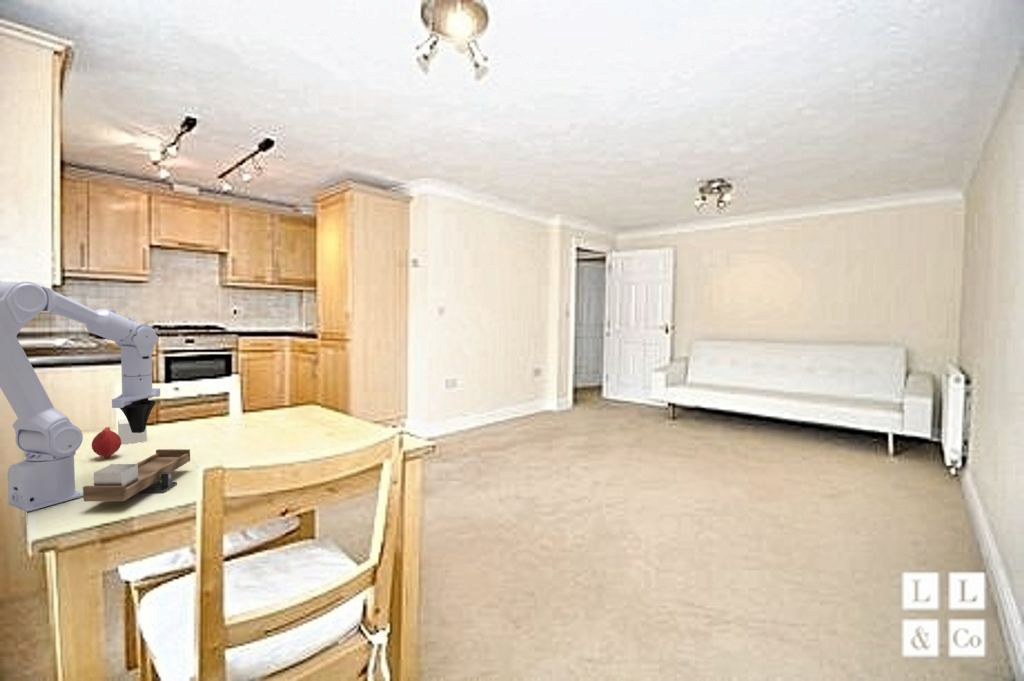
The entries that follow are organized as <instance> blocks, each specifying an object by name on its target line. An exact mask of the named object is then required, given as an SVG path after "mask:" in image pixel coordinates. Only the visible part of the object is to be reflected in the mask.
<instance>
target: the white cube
mask: <svg viewBox="0 0 1024 681" xmlns="http://www.w3.org/2000/svg"><path fill="white" fill-rule="evenodd" d="M117 434H118V435H119V437H120V438H121V446H123V445H122V444H126V445H130V444H129V443H134V444H138V443H137V442H141V443H144V442H143V441H147V438H148V437H147V435H148V434H147V427H146V428H145V431H144V432H142V433H132V431H131V428H130V425H129V422H128V420H127V418H126V419H118V420H117ZM147 442H148V441H147Z"/></svg>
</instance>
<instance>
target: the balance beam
mask: <svg viewBox="0 0 1024 681" xmlns="http://www.w3.org/2000/svg"><path fill="white" fill-rule="evenodd" d="M190 461H191V450H190V449H187V448H186V449H181V448H180V449H177V448H176V449H173V448H172V449H171V448H170V449H168V448H167V449H161V448H160V449H156V450H155V453H154V454H153V455H151V456H149V457H147V458H145V459H143V460H141V461H140V462H137V463H136V464H138V481H137V482H135V483H134V484H132V485H130V486H128V487H127V488H126V486H94V485H85V486H83V487H82V492H83V496H82V498H83V502H125V501H126V500H128V499H130V498H131V497H133V496H135V495H136V494H139V493H138V492H140V491H141V490H143V489H145V488H146V487H148V486H150V485H151V484H153V483H155V482H159V481H160V480H161V474H162V473H164V472H172V473H173V472H174V471H176V470H178V469H180V468H181V467H183V466H184V465H186V464H187V463H189V462H190Z"/></svg>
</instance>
